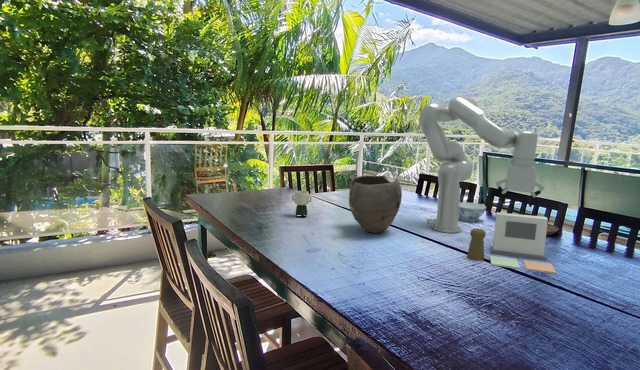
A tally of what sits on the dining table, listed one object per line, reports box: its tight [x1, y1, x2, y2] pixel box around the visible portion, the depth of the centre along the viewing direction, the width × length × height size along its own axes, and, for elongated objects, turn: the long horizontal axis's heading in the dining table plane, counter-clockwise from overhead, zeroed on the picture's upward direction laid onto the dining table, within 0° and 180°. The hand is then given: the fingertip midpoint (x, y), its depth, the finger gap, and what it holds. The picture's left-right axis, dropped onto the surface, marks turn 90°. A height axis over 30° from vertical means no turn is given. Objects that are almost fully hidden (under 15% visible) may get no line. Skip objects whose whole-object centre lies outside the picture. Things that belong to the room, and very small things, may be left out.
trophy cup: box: [291, 190, 313, 216], centre depth 197 cm, size 11×7×13 cm, turn 69°
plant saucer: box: [546, 222, 559, 237], centre depth 181 cm, size 21×21×3 cm
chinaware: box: [459, 201, 487, 222], centre depth 199 cm, size 15×15×8 cm
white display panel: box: [489, 211, 549, 261], centre depth 146 cm, size 19×6×15 cm, turn 69°
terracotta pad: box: [522, 259, 557, 275], centre depth 134 cm, size 9×9×1 cm
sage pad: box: [489, 255, 521, 270], centre depth 138 cm, size 9×9×1 cm
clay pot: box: [348, 175, 403, 234], centre depth 171 cm, size 24×24×25 cm
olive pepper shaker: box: [466, 227, 487, 261], centre depth 142 cm, size 6×6×11 cm
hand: (516, 204), depth 155 cm, fingers open, 9 cm apart
